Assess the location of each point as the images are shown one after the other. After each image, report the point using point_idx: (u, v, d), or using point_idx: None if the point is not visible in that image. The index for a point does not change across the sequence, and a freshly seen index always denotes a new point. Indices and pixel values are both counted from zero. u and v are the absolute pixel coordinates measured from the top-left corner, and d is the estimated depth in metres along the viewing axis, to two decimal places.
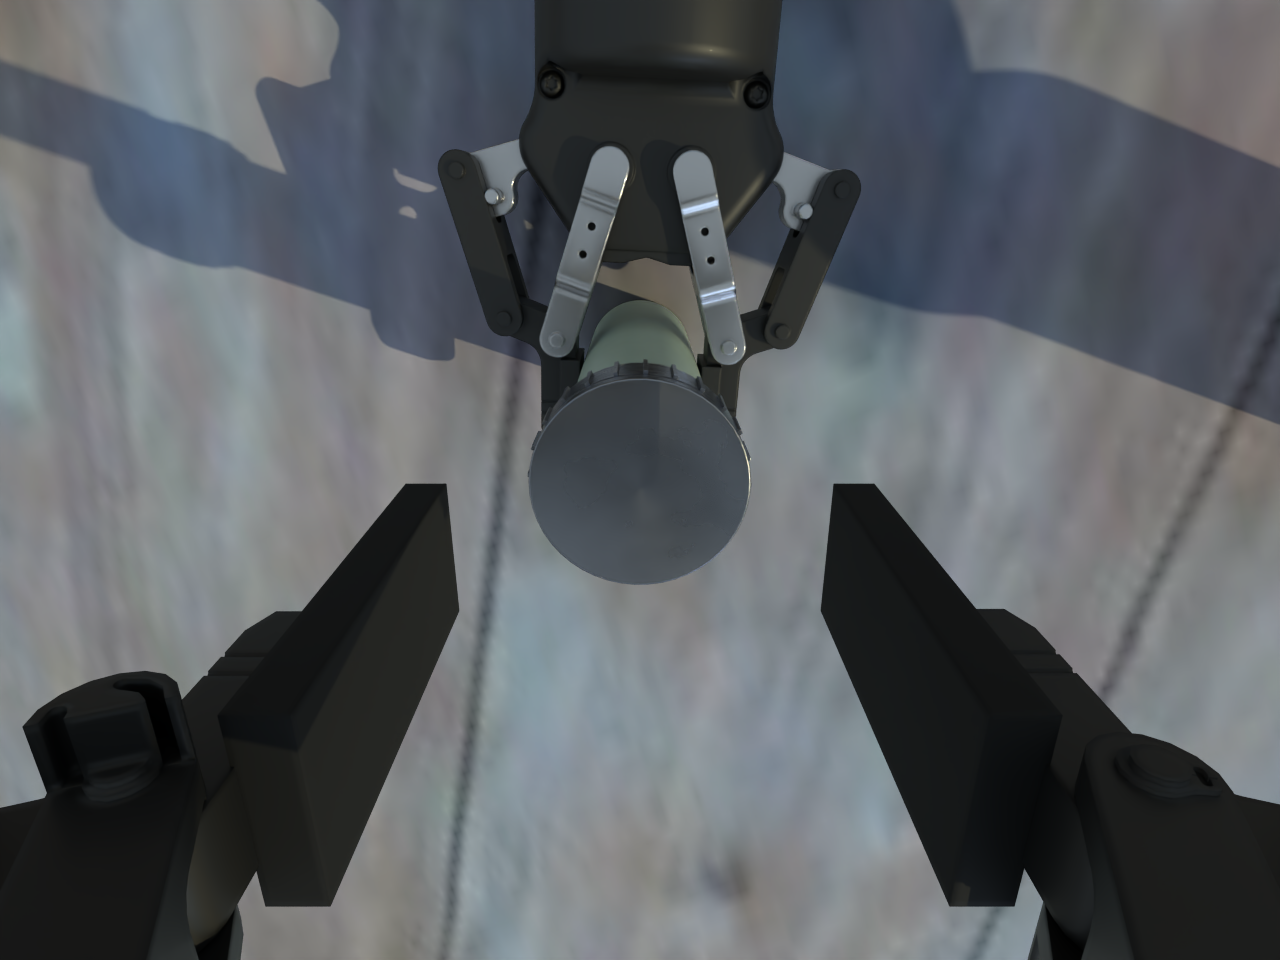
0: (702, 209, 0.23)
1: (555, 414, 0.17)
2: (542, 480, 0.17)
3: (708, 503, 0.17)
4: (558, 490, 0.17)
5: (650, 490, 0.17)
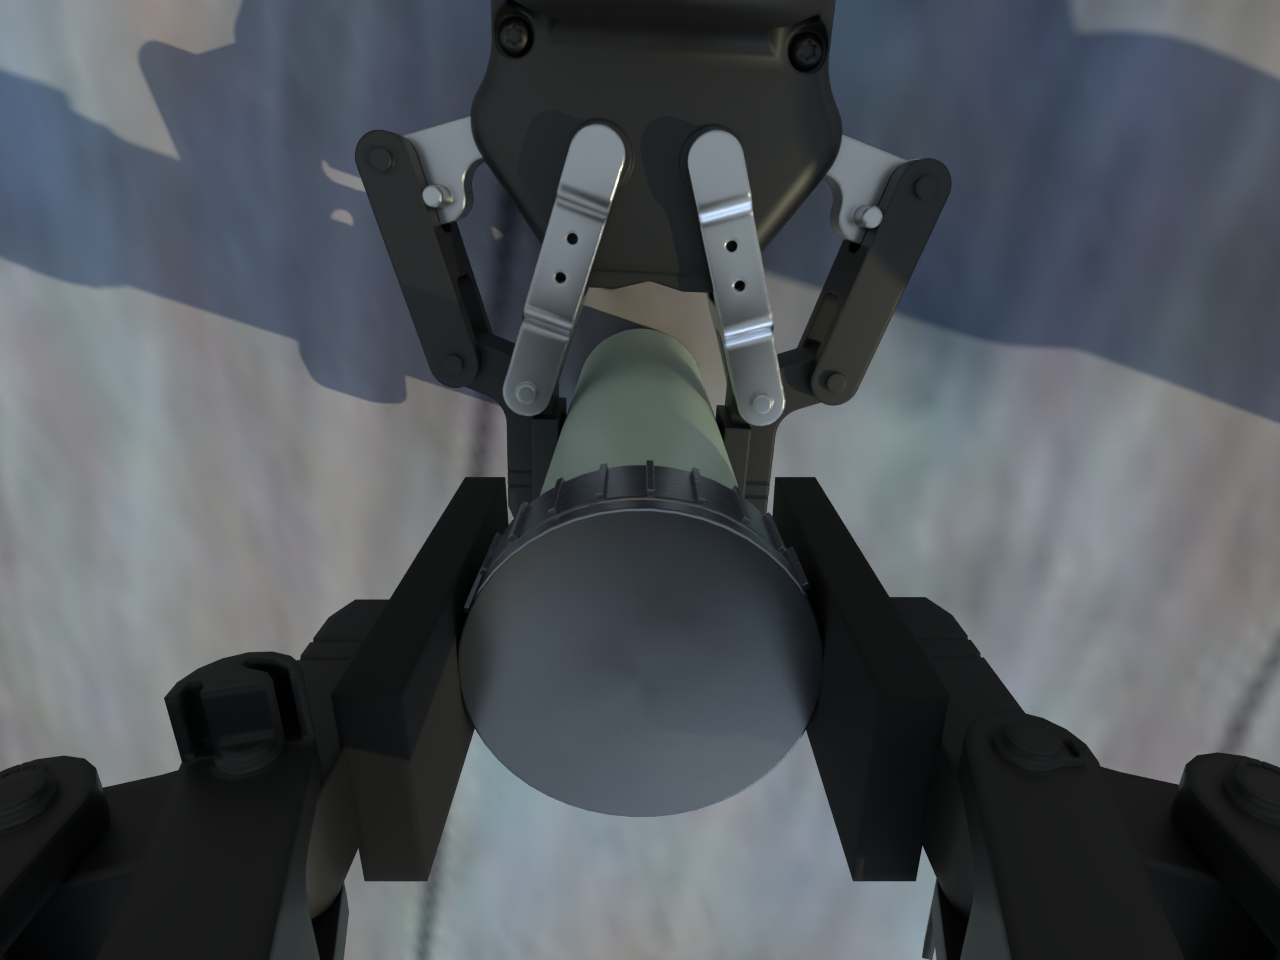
0: (729, 215, 0.16)
1: (498, 564, 0.10)
2: (479, 667, 0.10)
3: (753, 700, 0.10)
4: (506, 681, 0.10)
5: (658, 681, 0.10)
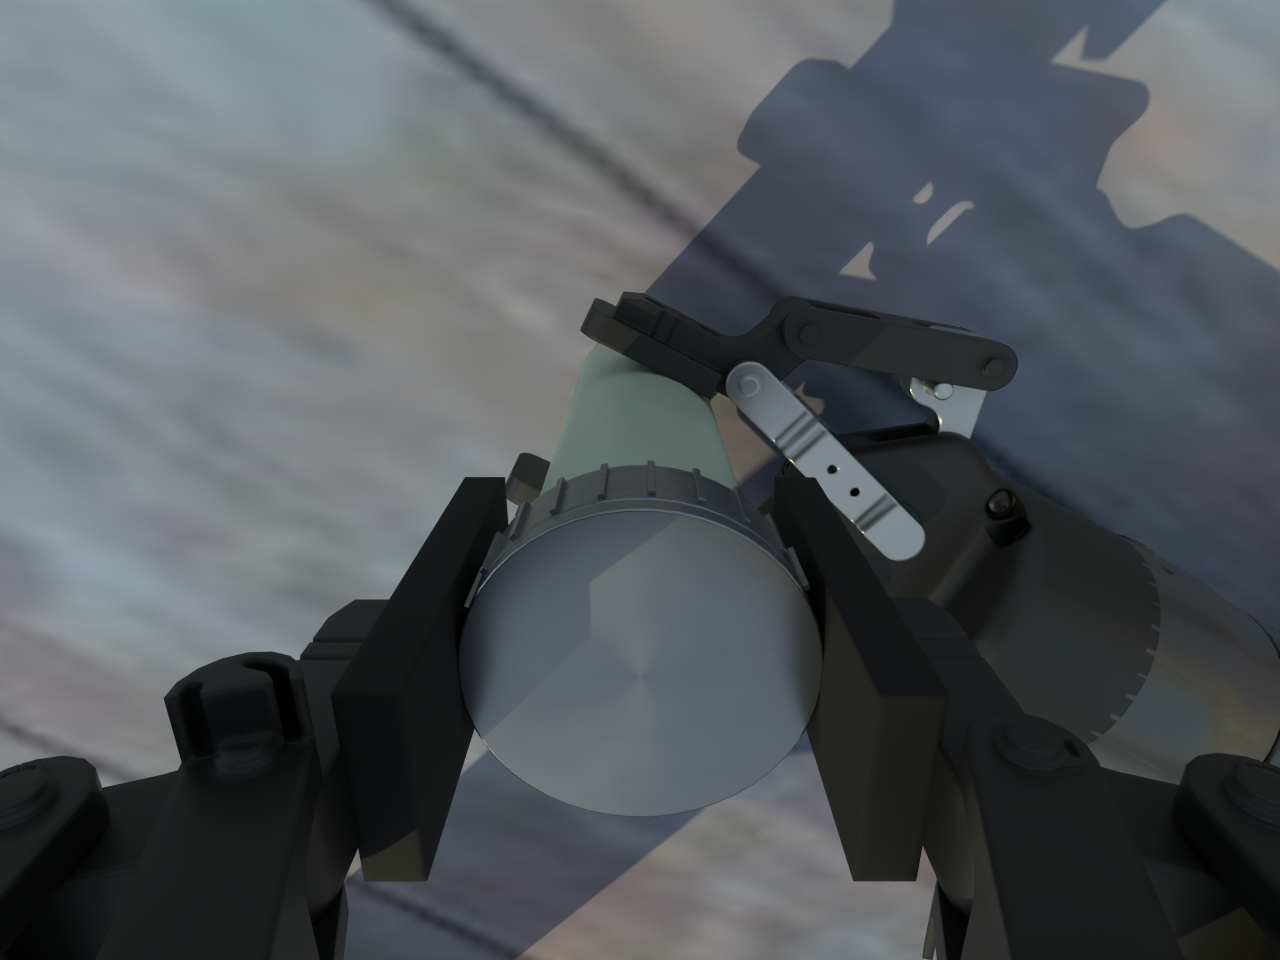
0: None
1: (498, 564, 0.10)
2: (479, 666, 0.10)
3: (753, 701, 0.11)
4: (506, 681, 0.10)
5: (658, 681, 0.10)
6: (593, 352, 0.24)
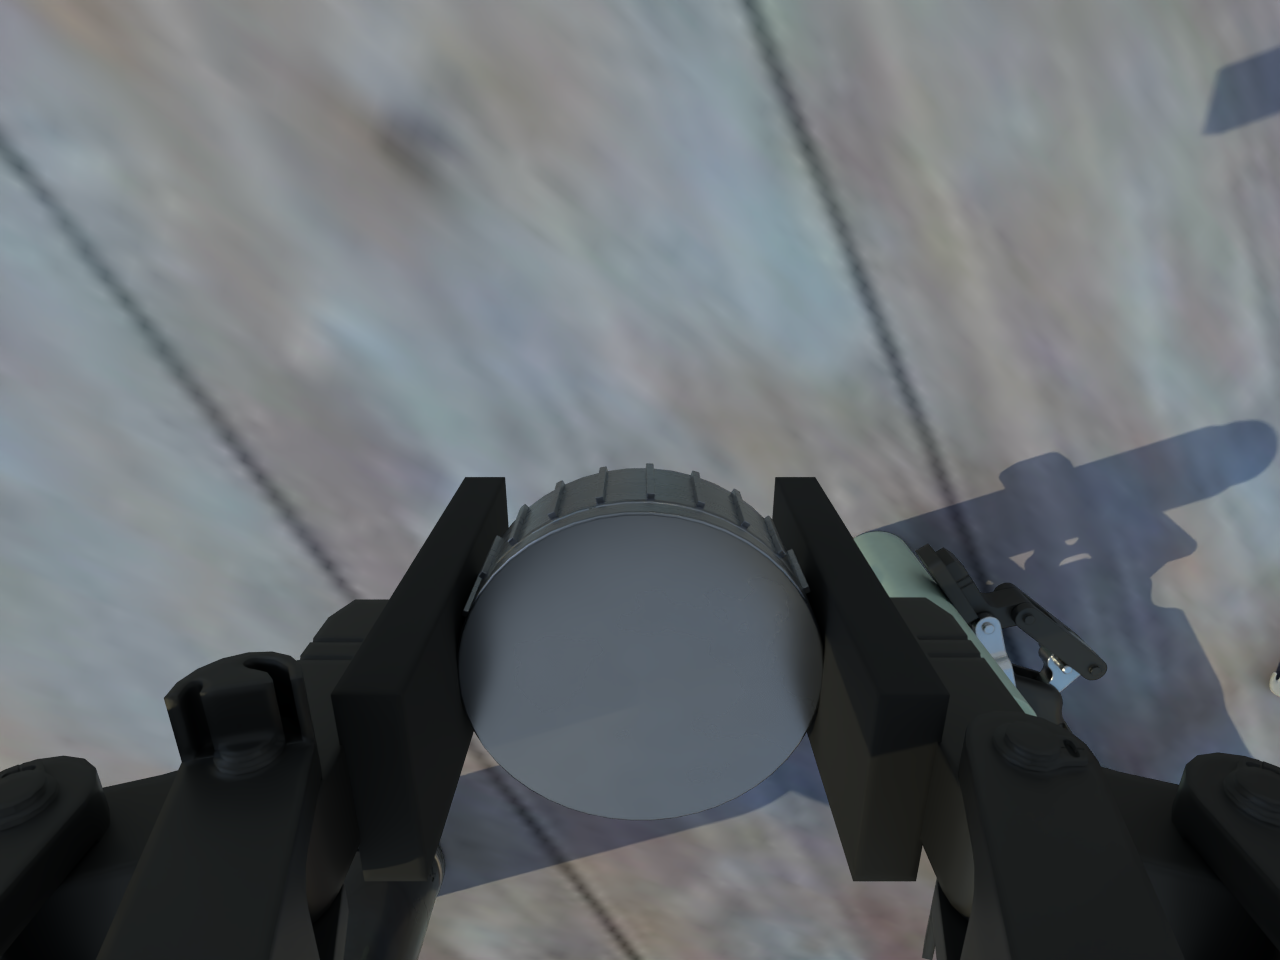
0: None
1: (498, 568, 0.10)
2: (479, 670, 0.10)
3: (753, 704, 0.10)
4: (506, 685, 0.10)
5: (658, 685, 0.10)
6: (870, 541, 0.40)
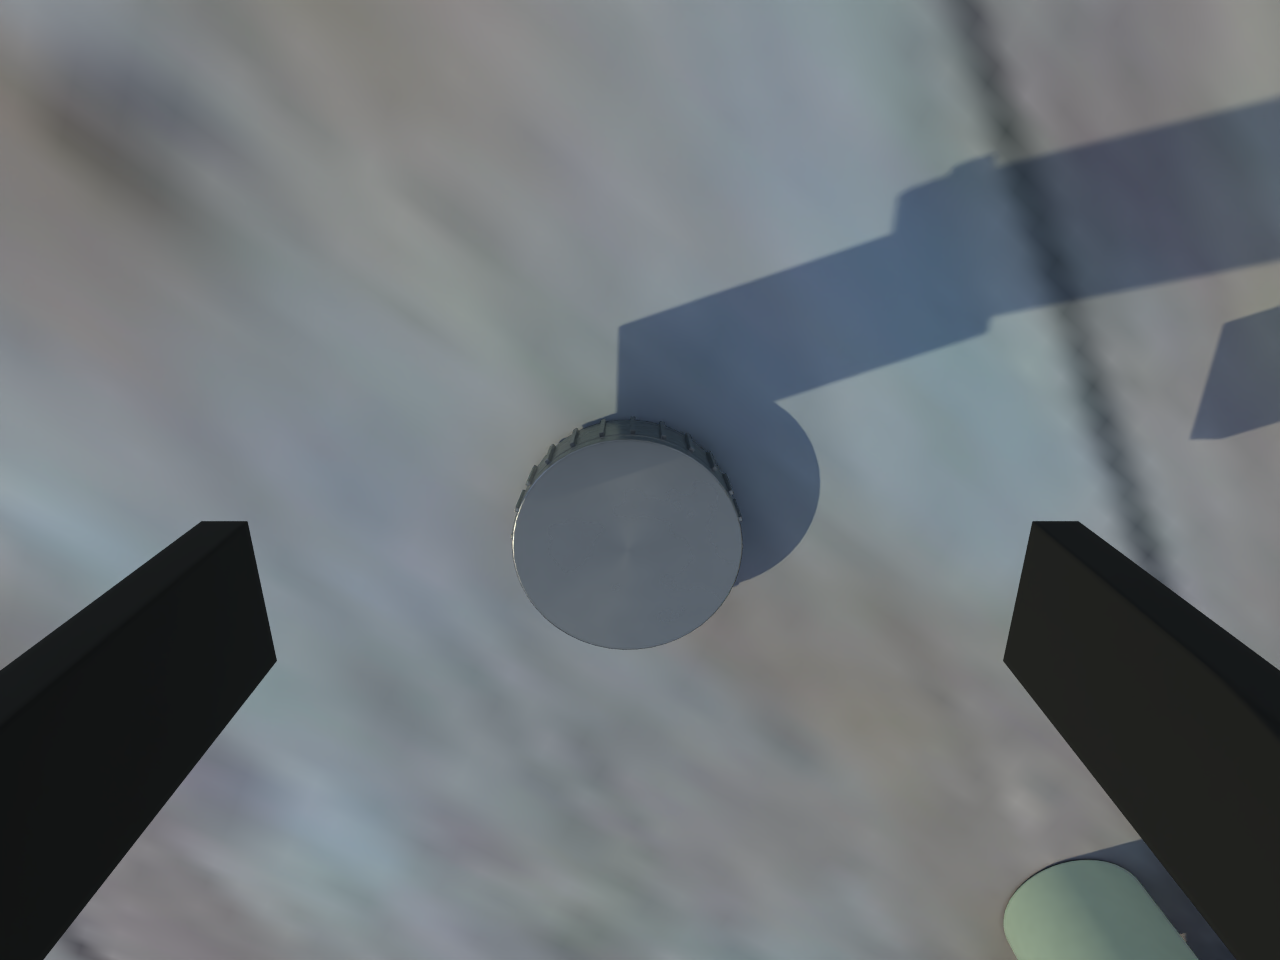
0: None
1: (539, 476, 0.16)
2: (526, 543, 0.16)
3: (698, 566, 0.17)
4: (543, 553, 0.17)
5: (638, 553, 0.17)
6: (1083, 893, 0.21)
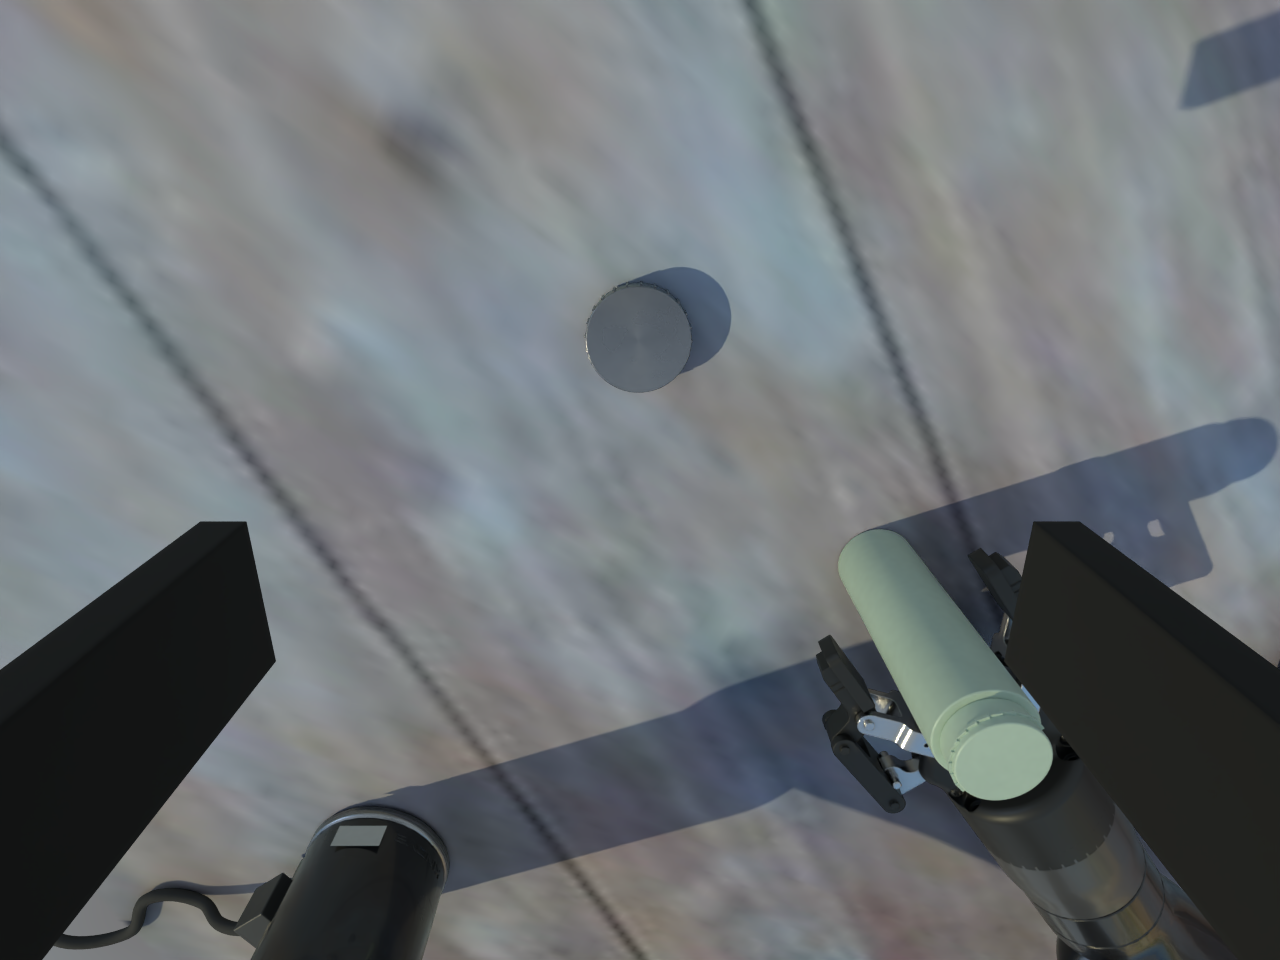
0: None
1: (598, 304, 0.35)
2: (592, 337, 0.36)
3: (671, 349, 0.36)
4: (599, 342, 0.36)
5: (643, 342, 0.36)
6: (872, 539, 0.40)
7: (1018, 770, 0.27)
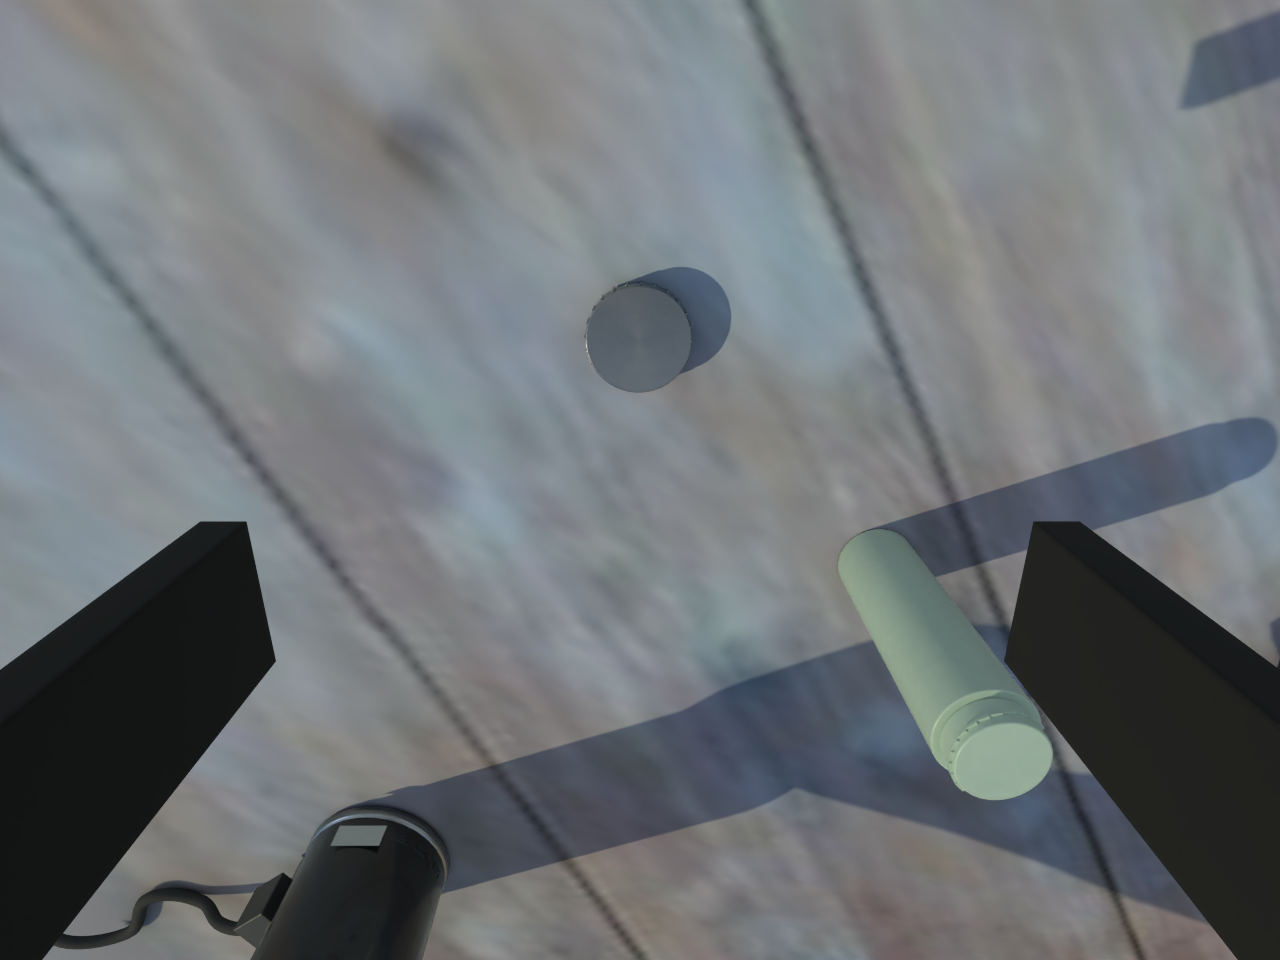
0: None
1: (599, 304, 0.35)
2: (592, 337, 0.36)
3: (671, 349, 0.36)
4: (599, 342, 0.36)
5: (643, 342, 0.36)
6: (872, 538, 0.40)
7: (1019, 770, 0.27)
